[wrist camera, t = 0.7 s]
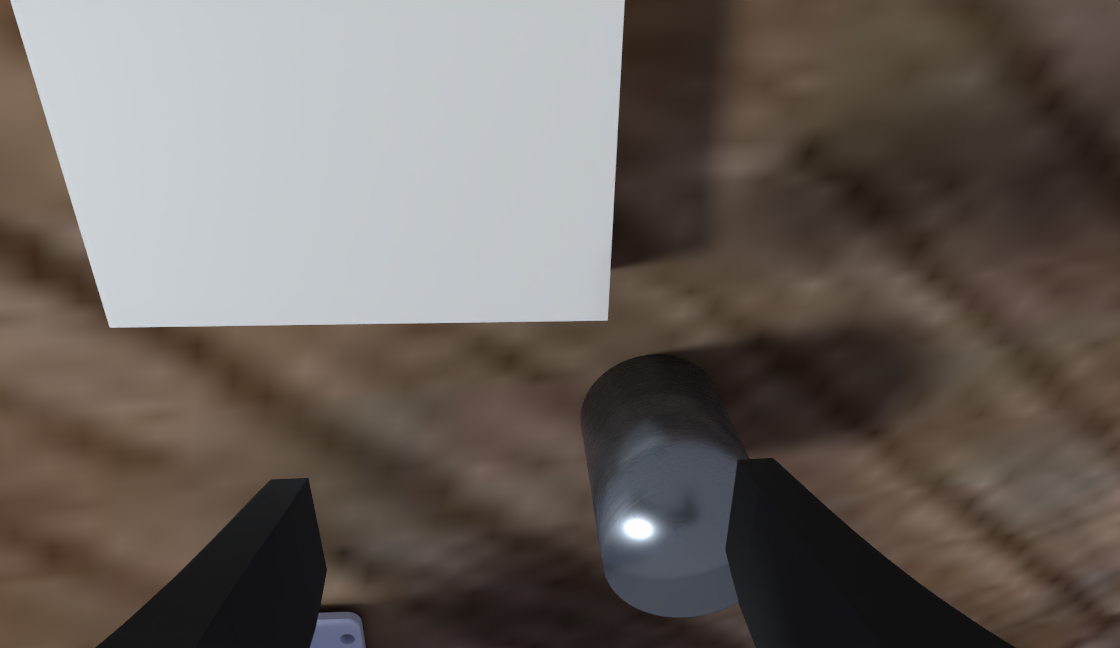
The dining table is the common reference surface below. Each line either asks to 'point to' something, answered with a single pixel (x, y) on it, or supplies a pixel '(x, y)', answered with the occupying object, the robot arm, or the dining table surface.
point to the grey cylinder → (662, 484)
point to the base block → (336, 156)
